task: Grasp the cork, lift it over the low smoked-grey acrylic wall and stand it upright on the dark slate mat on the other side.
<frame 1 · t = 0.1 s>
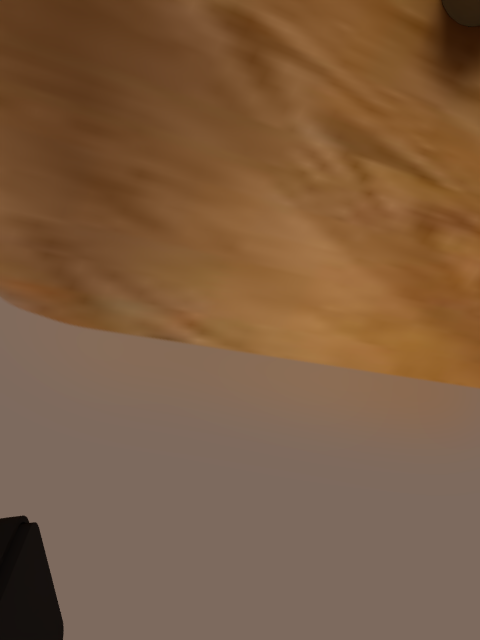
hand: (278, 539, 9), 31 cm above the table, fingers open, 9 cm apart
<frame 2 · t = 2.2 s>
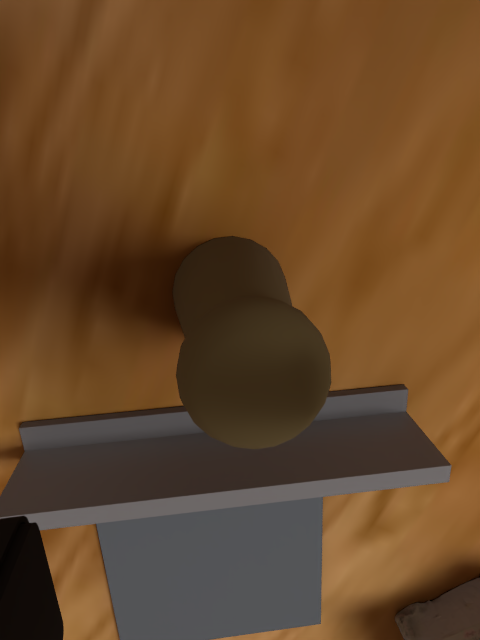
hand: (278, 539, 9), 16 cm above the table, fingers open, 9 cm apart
slate mat: (216, 555, 30), on the table
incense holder: (458, 601, 35), on the table
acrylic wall: (221, 432, 27), on the table
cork: (229, 292, 24), on the table
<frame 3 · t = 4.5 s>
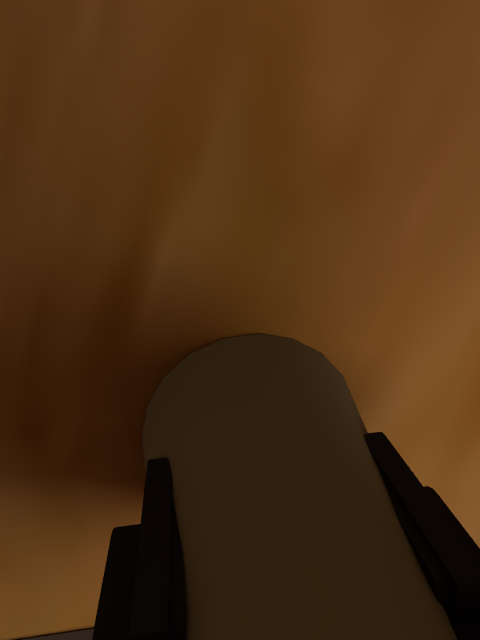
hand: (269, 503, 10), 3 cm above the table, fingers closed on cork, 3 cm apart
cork: (250, 429, 13), on the table, touching gripper
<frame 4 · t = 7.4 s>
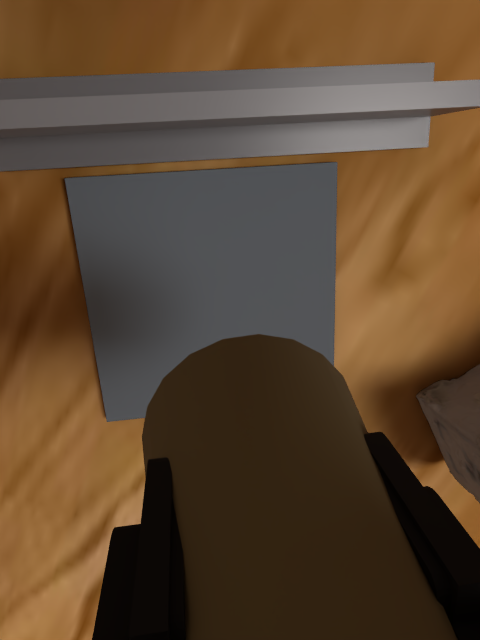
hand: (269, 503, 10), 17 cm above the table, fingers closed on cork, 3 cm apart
slate mat: (213, 297, 26), on the table
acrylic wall: (220, 117, 23), on the table
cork: (250, 430, 13), point 14 cm above the table, touching gripper
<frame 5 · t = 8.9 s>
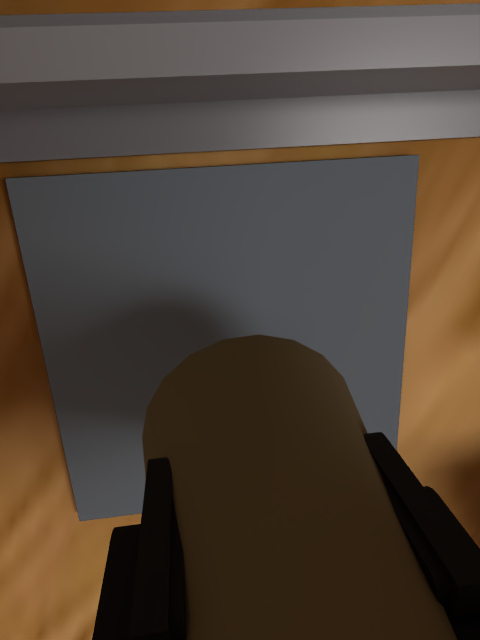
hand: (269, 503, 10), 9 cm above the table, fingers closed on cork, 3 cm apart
slate mat: (231, 349, 18), on the table
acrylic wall: (244, 85, 15), on the table
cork: (250, 430, 13), point 6 cm above the table, touching gripper
when the fingers open (5 cm above the table, at t = 10.4 s): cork drops 1 cm, resting on slate mat.
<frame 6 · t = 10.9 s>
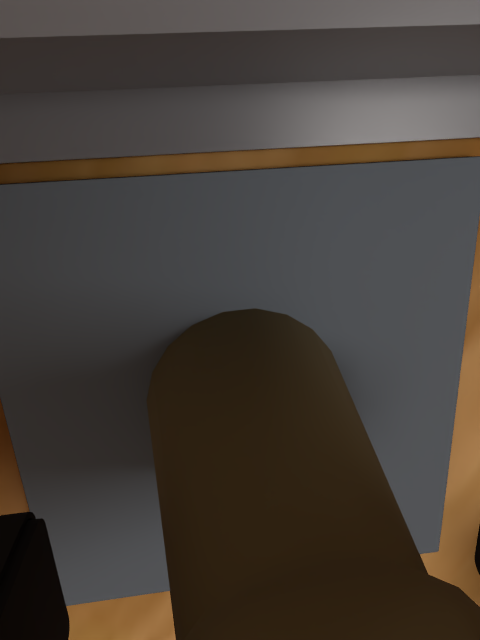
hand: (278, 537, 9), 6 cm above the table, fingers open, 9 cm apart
slate mat: (242, 399, 15), on the table
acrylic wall: (262, 65, 12), on the table
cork: (245, 398, 14), resting on slate mat
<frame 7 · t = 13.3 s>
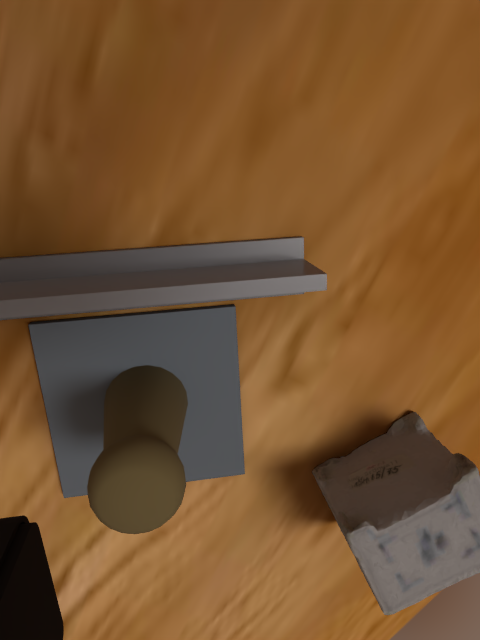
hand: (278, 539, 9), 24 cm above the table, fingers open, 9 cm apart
slate mat: (146, 402, 34), on the table
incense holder: (370, 460, 39), on the table
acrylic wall: (145, 276, 31), on the table
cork: (146, 401, 34), resting on slate mat
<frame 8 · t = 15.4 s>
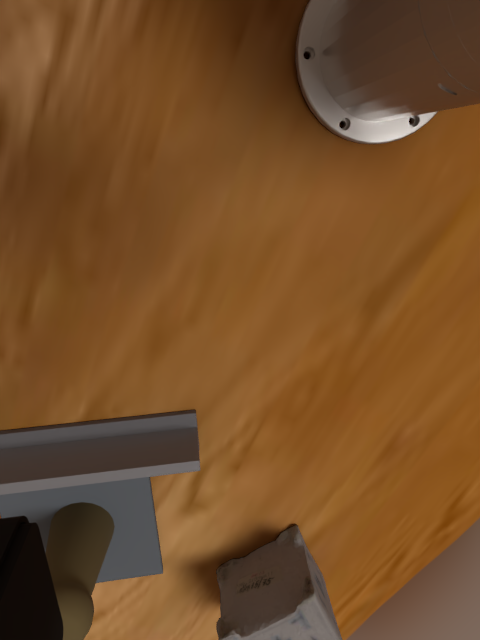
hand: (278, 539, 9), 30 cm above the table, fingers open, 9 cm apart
slate mat: (83, 524, 45), on the table
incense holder: (265, 558, 50), on the table
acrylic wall: (77, 441, 42), on the table
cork: (83, 525, 45), resting on slate mat
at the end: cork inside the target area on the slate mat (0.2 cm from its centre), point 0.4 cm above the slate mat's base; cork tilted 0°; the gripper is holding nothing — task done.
